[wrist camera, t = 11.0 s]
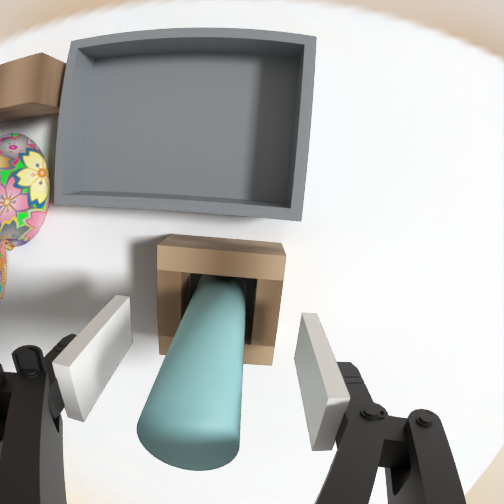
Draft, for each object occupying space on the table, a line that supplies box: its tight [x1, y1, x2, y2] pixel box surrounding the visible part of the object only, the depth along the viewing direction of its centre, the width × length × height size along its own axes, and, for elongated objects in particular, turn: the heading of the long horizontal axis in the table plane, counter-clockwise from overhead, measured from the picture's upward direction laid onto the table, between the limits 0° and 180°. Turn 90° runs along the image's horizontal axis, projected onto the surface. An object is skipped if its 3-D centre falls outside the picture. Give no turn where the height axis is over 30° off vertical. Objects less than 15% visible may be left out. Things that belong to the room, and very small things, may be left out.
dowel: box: [137, 274, 246, 471], centre depth 15 cm, size 3×3×13 cm
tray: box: [54, 28, 316, 221], centre depth 17 cm, size 14×10×4 cm
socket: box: [157, 234, 286, 366], centre depth 20 cm, size 7×7×3 cm
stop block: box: [0, 53, 66, 123], centre depth 15 cm, size 10×3×5 cm, turn 85°
